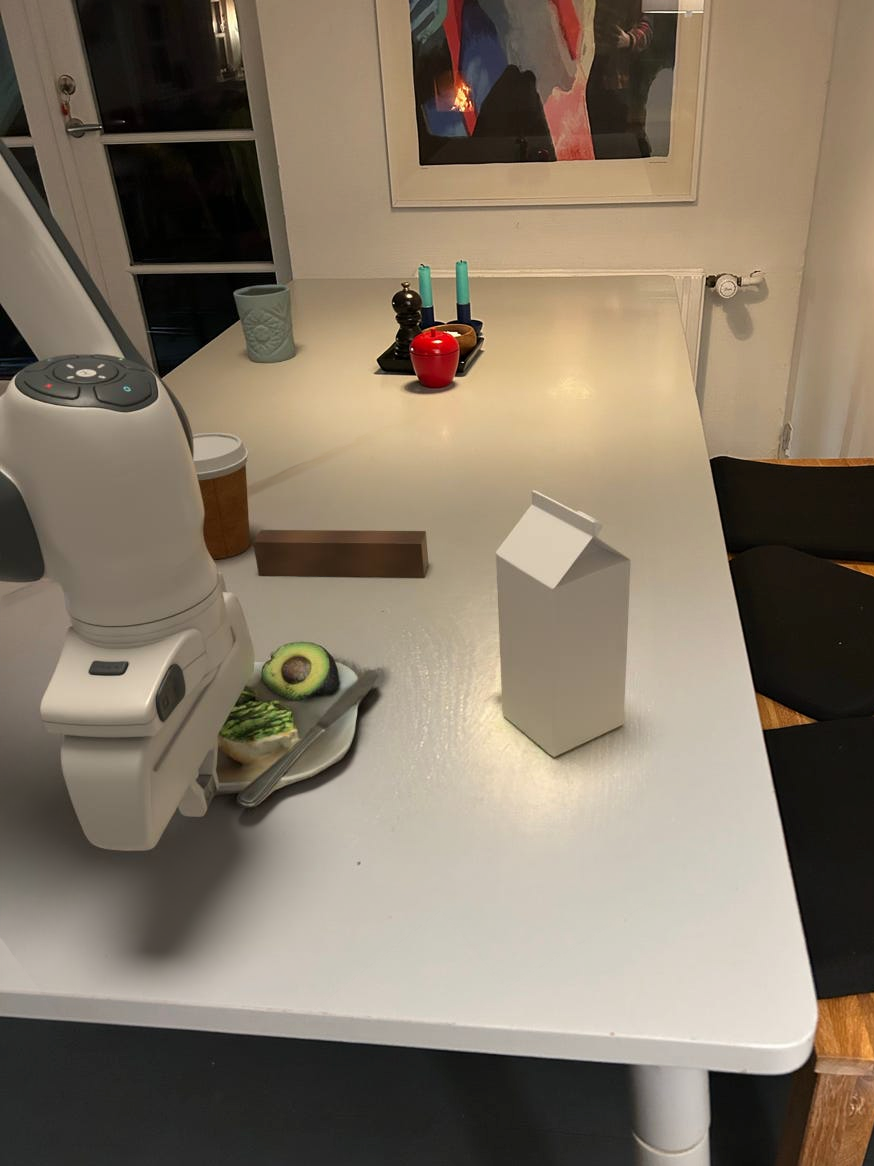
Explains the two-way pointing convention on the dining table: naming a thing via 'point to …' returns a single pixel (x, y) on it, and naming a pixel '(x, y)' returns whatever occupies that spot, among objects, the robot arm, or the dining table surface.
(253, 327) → the drinking glass
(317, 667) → the salad plate
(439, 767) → the dining table surface
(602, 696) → the milk carton
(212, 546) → the disposable coffee cup
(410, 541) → the rail
